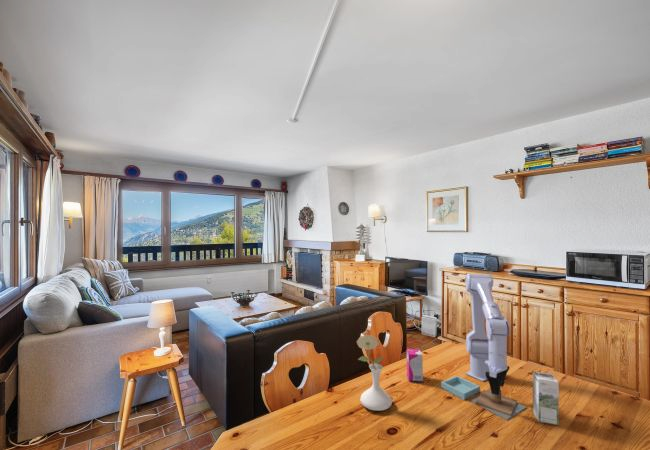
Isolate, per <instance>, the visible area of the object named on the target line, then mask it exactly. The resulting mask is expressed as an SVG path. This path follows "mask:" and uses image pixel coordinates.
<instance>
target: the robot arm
mask: <svg viewBox="0 0 650 450" xmlns="http://www.w3.org/2000/svg"><path fill="white" fill-rule="evenodd" d="M493 287H494V278H493V275H491V274H490V273H487V274H486V273H470V272H468V273H467V274H466V275H465V289H466V292H468V293H469V295H470V301H471V302H470V303H471V305H470V306H471V318H472V319H471V321H472V322H471V323H472V330H471V331H470V332H468V333H467V334H466V335H465V336H466V339H465V349H466V352H467V354H469V366H470V367H469V369H470V370H469V371H466V372H465V375H468V376H470V377H472V378H475V379H476V380H479V381H481V382H485V381H488V384H489V389H490V390H491V392H492V394H495V395H499V392H500V390H501V388H503V387H504V385H505V382H506V378H507V377H506V376H507V373H508V371H509V370H510V366H508V357H507V355H508V353H507V352H508V351H507V348H508V347H507V345H508V344H507V343H508V341H507V340H508V339H507V338H508V336H509V335H510V333H511V332H510V328H511V327H510V324H509V321H508V320H507V318H505V316H503V315H502V311H501V309H500V306H499V304H498V303H497V302H495V301H494V297H493V294H492V290H493ZM485 320H486V322H485ZM485 328H486V329H485Z"/></svg>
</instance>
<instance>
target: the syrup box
mask: <svg viewBox="0 0 650 450" xmlns="http://www.w3.org/2000/svg"><path fill="white" fill-rule="evenodd" d="M559 386H560V382H559V381H558V380H557V378H556V377H555V375H554V374H552V373H546V372H539V371H533V372H532V413H533V415H534V416H535V418H536V420H537V422H538V423H542V424H547V425H554V426H559V425H560V423H559V420H560V418H559V416H560V413H559V412H560V409H559V405H560V403H559V399H560V393H559V392H560V387H559Z"/></svg>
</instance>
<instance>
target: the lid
mask: <svg viewBox="0 0 650 450" xmlns="http://www.w3.org/2000/svg"><path fill="white" fill-rule="evenodd" d="M489 391H490V390H485V389H483V390H482V391H481V392H480V395H478V396H479V398H478V399H477V401H476V404H475V405H477V404H478V405H477V406H479V405H481V406H484V407H486V408H489V409H492V410H495V411H498V412H500V413H503V414H506V415H509V416H511V415H512V412H513V410H514V408H515V405H516V403H518V400H517V399H514V398H510V397H508V396H505V395H503V394H502V390H501V389H500V392H499V395H495V394H492V392H489ZM481 406H480V407H481Z"/></svg>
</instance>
